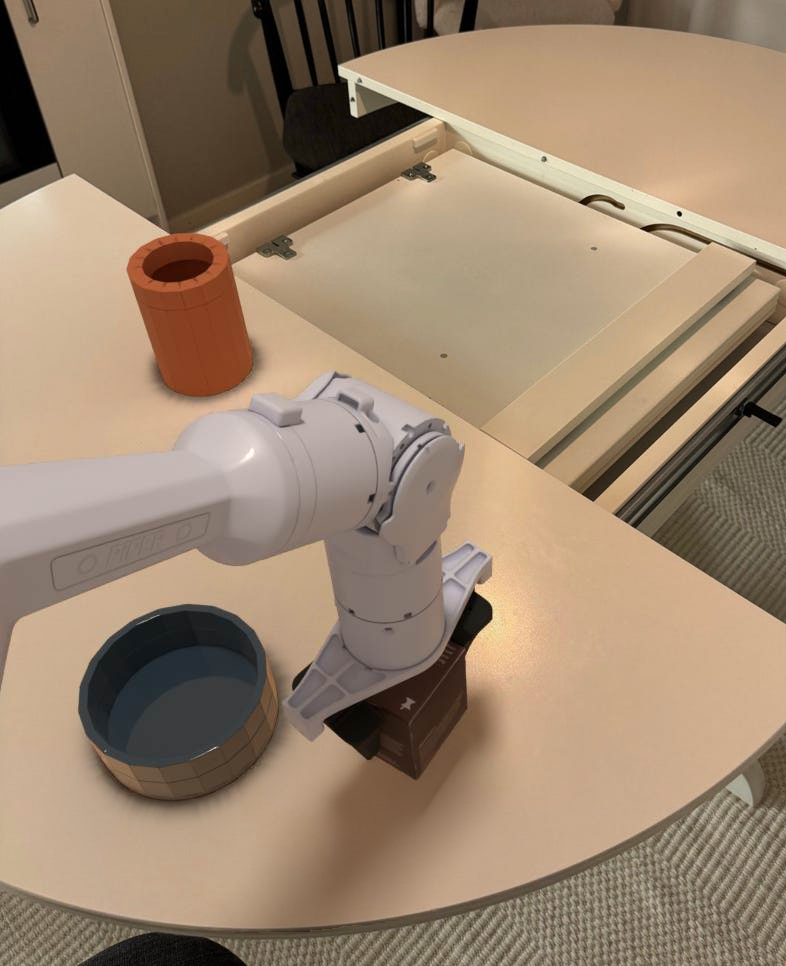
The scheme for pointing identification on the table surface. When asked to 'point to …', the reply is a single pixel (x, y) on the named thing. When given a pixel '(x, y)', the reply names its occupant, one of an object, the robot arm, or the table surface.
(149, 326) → the jar
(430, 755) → the box
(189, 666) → the bowl
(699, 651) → the table surface
